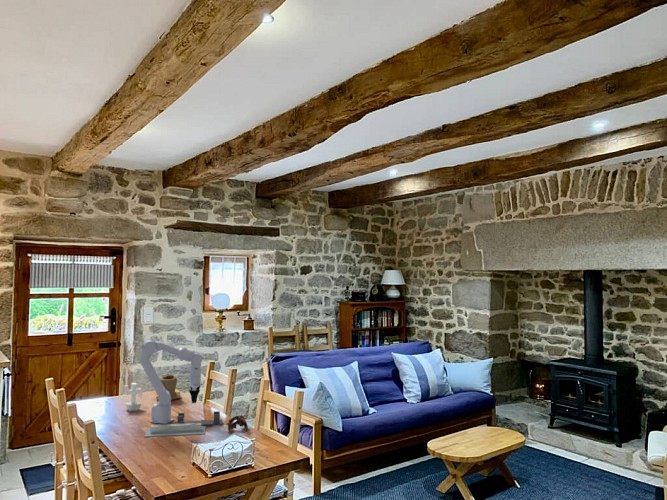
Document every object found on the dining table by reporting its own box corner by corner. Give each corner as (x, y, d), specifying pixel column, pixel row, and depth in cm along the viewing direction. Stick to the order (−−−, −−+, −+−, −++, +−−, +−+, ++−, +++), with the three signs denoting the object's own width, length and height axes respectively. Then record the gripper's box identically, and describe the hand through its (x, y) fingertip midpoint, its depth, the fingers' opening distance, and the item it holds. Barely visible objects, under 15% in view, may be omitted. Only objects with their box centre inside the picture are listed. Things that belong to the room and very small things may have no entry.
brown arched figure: (247, 434, 246) (239, 421, 244) (231, 442, 247) (223, 428, 245) (252, 421, 257) (245, 408, 256) (236, 428, 259) (229, 415, 257)
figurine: (143, 409, 282) (144, 383, 283) (126, 412, 276) (127, 385, 277) (139, 407, 288) (140, 381, 289) (122, 409, 282) (123, 383, 283)
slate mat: (144, 437, 237) (144, 436, 237) (147, 429, 249) (147, 428, 249) (204, 434, 243) (204, 433, 243) (205, 426, 255) (205, 425, 255)
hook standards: (174, 427, 252) (174, 416, 252) (175, 423, 259) (175, 412, 259) (222, 425, 258) (222, 414, 258) (222, 421, 264) (222, 411, 265)
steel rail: (150, 433, 242) (150, 426, 242) (151, 431, 245) (151, 425, 245) (201, 430, 247) (201, 424, 248) (201, 428, 250) (201, 422, 250)
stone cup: (159, 403, 297) (160, 378, 297) (154, 399, 306) (155, 374, 307) (184, 400, 305) (185, 375, 306) (179, 396, 315) (179, 372, 315)
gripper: (202, 378, 263) (201, 404, 263) (203, 372, 277) (202, 397, 277) (188, 378, 262) (187, 404, 261) (190, 373, 276) (189, 397, 275)
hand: (194, 401), depth 269 cm, fingers open, 7 cm apart
